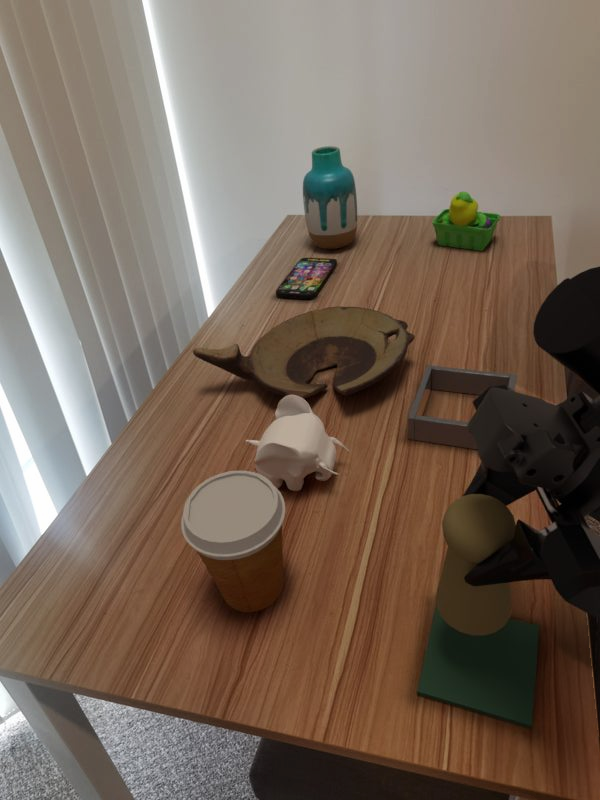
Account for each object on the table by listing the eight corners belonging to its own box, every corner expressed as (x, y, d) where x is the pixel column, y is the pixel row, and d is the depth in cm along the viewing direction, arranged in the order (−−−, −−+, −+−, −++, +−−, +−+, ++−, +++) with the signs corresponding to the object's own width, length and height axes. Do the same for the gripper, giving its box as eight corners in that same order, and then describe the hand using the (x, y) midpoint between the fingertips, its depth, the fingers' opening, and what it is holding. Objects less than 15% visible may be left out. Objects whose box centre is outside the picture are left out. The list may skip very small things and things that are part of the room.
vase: (298, 251, 125) (286, 156, 113) (326, 232, 131) (318, 140, 119) (341, 259, 119) (333, 160, 108) (368, 239, 126) (364, 143, 114)
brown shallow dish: (406, 424, 78) (405, 376, 73) (192, 412, 85) (179, 368, 80) (419, 333, 94) (419, 289, 90) (239, 329, 102) (231, 289, 97)
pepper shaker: (528, 616, 48) (544, 525, 41) (462, 648, 46) (468, 558, 40) (482, 561, 52) (490, 471, 46) (421, 588, 51) (420, 499, 44)
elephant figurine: (340, 509, 67) (334, 450, 62) (240, 498, 70) (226, 442, 65) (354, 451, 75) (350, 394, 69) (263, 444, 78) (252, 389, 72)
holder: (514, 395, 80) (516, 374, 77) (504, 454, 71) (507, 431, 69) (426, 385, 84) (426, 364, 81) (408, 439, 75) (407, 417, 73)
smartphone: (273, 292, 109) (301, 257, 120) (273, 297, 109) (301, 261, 120) (313, 295, 106) (338, 258, 117) (314, 300, 107) (339, 263, 118)
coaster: (538, 629, 53) (539, 625, 53) (531, 729, 47) (532, 725, 47) (437, 604, 57) (437, 600, 56) (416, 694, 50) (416, 691, 50)
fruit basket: (499, 238, 118) (504, 181, 111) (484, 257, 113) (489, 197, 106) (444, 232, 124) (446, 177, 117) (427, 249, 118) (428, 192, 111)
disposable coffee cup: (236, 536, 66) (214, 457, 59) (314, 562, 62) (301, 480, 55) (188, 608, 59) (156, 529, 52) (271, 641, 56) (250, 561, 48)
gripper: (508, 289, 43) (364, 427, 50) (636, 473, 28) (404, 631, 35) (601, 366, 47) (456, 482, 54) (755, 560, 32) (527, 685, 39)
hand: (459, 553), depth 46 cm, fingers closed on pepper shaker, 5 cm apart
